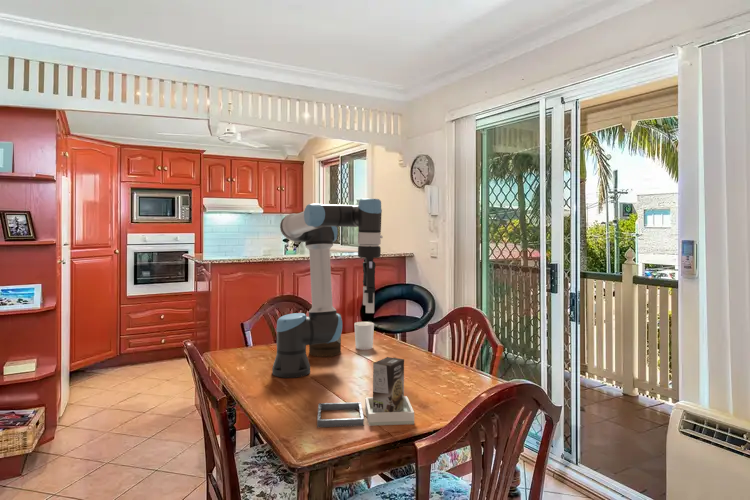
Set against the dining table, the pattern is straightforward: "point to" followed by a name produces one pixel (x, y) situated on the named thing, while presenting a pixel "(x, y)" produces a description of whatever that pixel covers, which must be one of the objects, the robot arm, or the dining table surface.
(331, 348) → the wooden container
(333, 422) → the socket collar
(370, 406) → the tray
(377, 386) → the coffee box
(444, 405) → the dining table surface
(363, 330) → the candle holder
